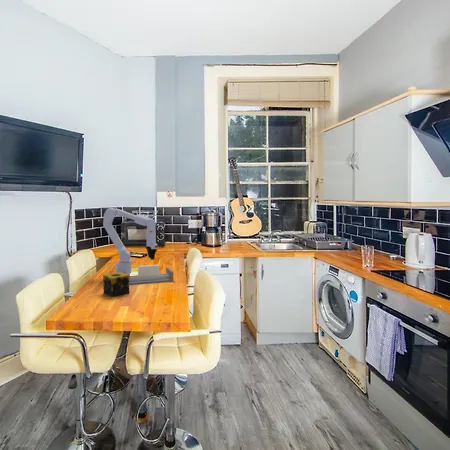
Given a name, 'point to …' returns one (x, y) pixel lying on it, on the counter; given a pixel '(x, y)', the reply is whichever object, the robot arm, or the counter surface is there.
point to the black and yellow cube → (116, 284)
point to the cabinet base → (151, 278)
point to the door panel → (148, 270)
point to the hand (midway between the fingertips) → (151, 258)
